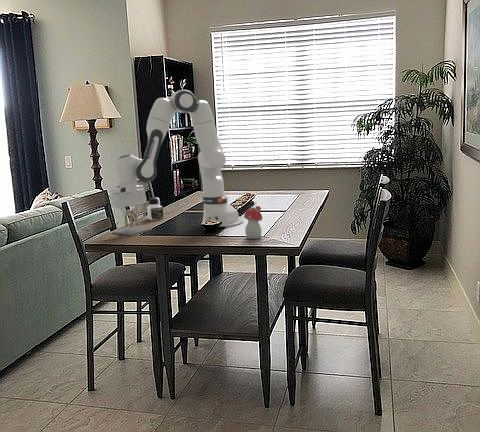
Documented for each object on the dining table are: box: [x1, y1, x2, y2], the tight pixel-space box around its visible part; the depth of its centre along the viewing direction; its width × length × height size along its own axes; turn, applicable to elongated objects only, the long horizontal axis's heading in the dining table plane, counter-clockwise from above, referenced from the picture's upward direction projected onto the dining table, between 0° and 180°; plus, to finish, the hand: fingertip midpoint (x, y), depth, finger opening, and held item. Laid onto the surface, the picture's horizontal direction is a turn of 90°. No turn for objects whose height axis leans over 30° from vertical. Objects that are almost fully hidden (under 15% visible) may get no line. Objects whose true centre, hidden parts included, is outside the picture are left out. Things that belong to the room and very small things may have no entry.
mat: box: [112, 225, 153, 237], centre depth 282 cm, size 14×14×1 cm
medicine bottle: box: [146, 197, 164, 221], centre depth 313 cm, size 7×7×12 cm
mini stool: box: [124, 209, 139, 228], centre depth 281 cm, size 6×6×8 cm
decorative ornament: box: [243, 205, 263, 240], centre depth 251 cm, size 9×7×15 cm
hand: (130, 214), depth 280 cm, fingers closed on mini stool, 5 cm apart
